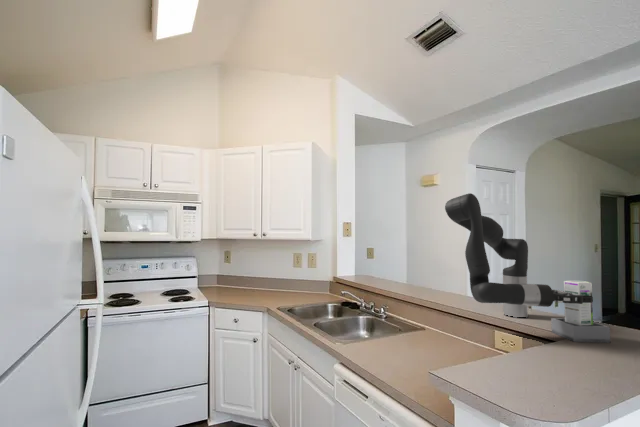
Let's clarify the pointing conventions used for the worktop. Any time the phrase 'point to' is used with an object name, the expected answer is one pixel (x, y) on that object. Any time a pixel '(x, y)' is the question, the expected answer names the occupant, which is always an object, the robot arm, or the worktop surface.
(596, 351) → the worktop surface
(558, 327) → the tray
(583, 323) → the syrup box
